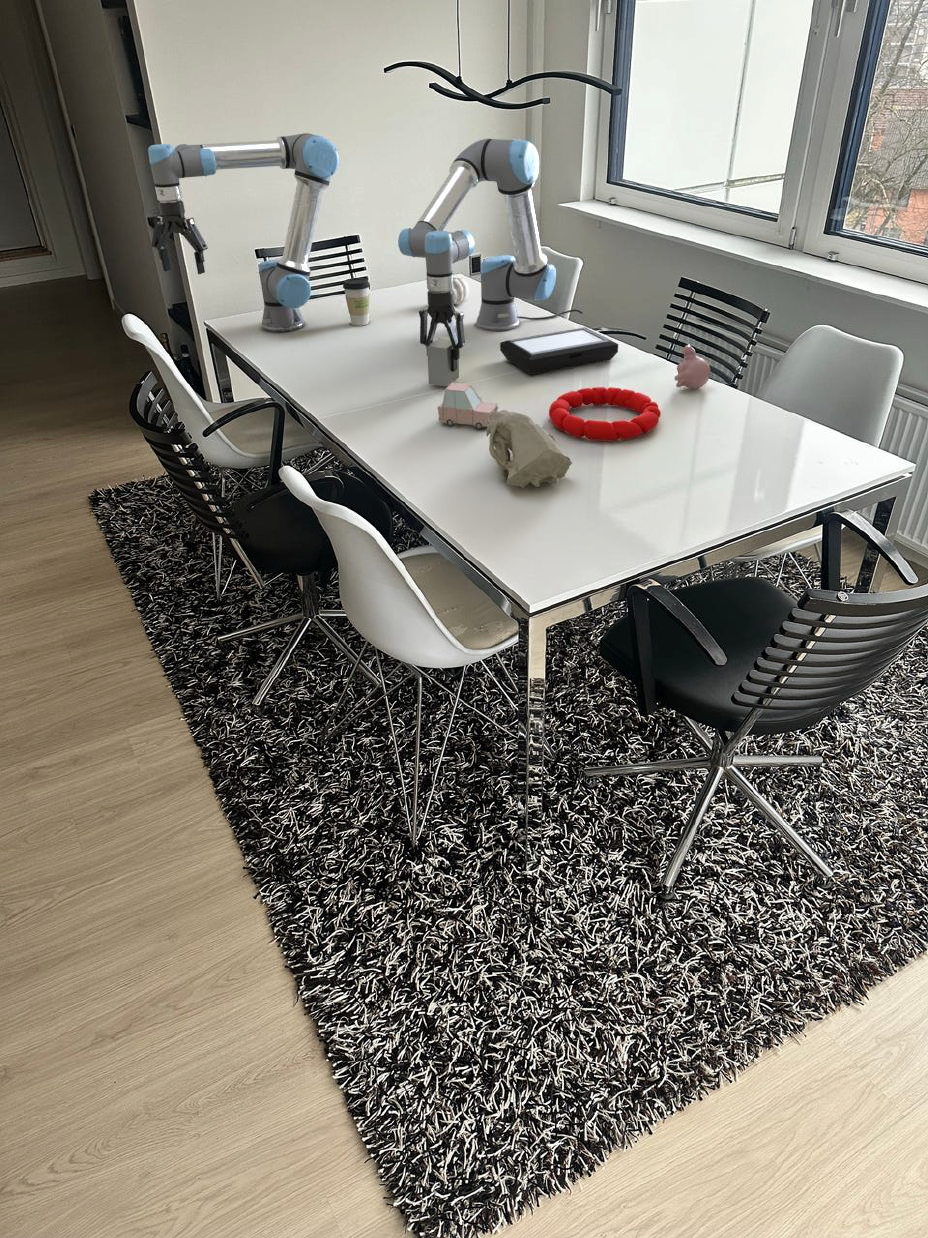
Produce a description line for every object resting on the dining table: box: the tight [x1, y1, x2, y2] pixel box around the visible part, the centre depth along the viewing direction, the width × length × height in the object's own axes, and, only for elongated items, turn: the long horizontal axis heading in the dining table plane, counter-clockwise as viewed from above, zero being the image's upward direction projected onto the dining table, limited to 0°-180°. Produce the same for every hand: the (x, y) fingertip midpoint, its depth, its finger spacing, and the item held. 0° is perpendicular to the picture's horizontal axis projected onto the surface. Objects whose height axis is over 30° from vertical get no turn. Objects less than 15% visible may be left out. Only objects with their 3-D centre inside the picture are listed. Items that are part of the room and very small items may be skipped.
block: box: [426, 337, 460, 387], centre depth 268 cm, size 6×8×12 cm
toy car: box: [437, 382, 499, 431], centre depth 243 cm, size 9×15×10 cm, turn 70°
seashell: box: [452, 277, 470, 305], centre depth 341 cm, size 10×15×10 cm
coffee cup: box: [342, 277, 371, 327], centre depth 323 cm, size 10×10×15 cm
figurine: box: [674, 344, 711, 390], centre depth 259 cm, size 9×11×12 cm
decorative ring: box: [548, 386, 661, 442], centre depth 242 cm, size 7×30×30 cm
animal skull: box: [485, 409, 573, 489], centre depth 216 cm, size 17×25×20 cm
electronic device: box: [499, 326, 619, 376], centre depth 285 cm, size 32×6×20 cm
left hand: (184, 271), depth 290 cm, fingers open, 13 cm apart
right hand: (443, 368), depth 269 cm, fingers closed on block, 6 cm apart
